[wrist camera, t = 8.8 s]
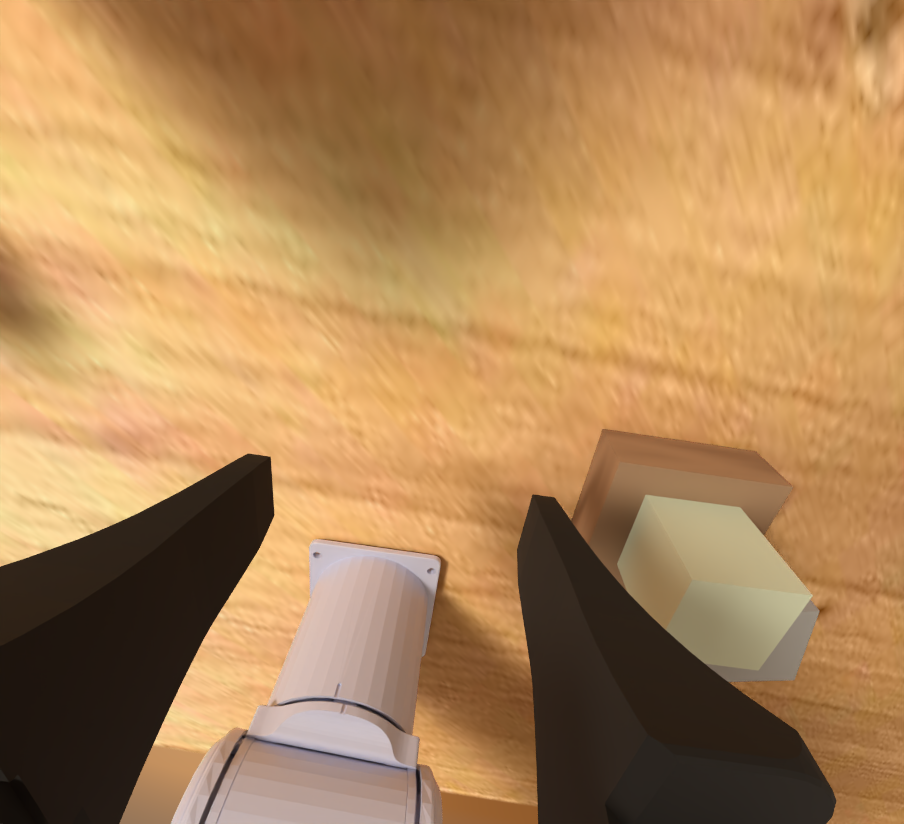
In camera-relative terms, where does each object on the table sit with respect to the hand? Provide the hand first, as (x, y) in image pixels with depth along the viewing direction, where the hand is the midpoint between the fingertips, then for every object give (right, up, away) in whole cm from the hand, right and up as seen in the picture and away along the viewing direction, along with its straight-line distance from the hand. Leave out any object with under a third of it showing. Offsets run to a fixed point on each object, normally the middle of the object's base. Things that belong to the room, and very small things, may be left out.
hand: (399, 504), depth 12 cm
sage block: (+12, -4, +9) cm, 16 cm away
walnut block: (+13, -2, +12) cm, 18 cm away
